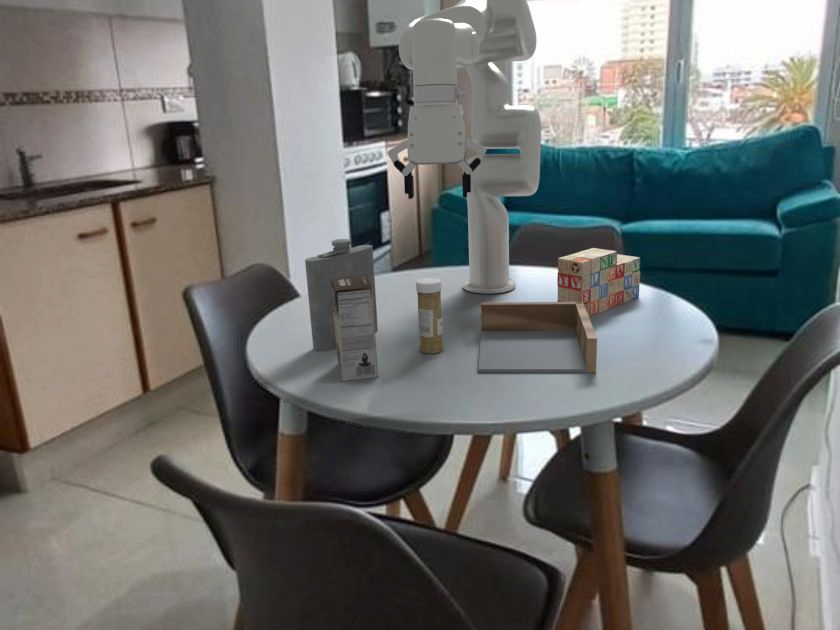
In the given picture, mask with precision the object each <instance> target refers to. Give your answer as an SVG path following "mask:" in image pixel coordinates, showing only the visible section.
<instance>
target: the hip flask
mask: <svg viewBox="0 0 840 630" xmlns="http://www.w3.org/2000/svg"><path fill="white" fill-rule="evenodd" d="M351 245H352V240H351V239H350V238H339V239H338V238H337V239H332V240H331V246H333V250H331V251H328V252H324V253H321V254H318V255H316V256H312V257H307V258H305V259H304V262H305V273H306V274H305V275H306V284H307V285H306V286H307V295H308V304H309V317H310V318H309V319H310V326H311V327H310V328H311V339H312V348H313V349H312V350H313V351H314V352H326V351H331V350H333V349H337V348H336V336H335V325H334V313H333V301H332V289H331V278H332V277H342V276H352V275H361V274H366V275H367V277H368V279H369V281H370V283H371V285H372V287H373V304H374V322H375V334H376V333H377V332H378V331H379V328H378V327H379V325H378V310H377V296H376V281H375V266H374V264H375V263H374V262H375V261H374V249H373V245H371V244H361V245H360V244H359V245H358V246H357V245H356V246H354V247H351Z"/></svg>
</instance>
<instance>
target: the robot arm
mask: <svg viewBox="0 0 840 630" xmlns="http://www.w3.org/2000/svg"><path fill="white" fill-rule="evenodd" d="M537 42H538V41H537V31H536V28H535V24H534V20H533V17H532V13H531V10H530V6H529V4H528V1H527V0H459V1H458V3H456V4H455V5H454V6H450V7H447V8H444V9H442V10H440V11H439V10H438V11H436V12H432V13H431V14H427V15H424V16H421V17H419V18H416V19H414V20H413V21H411V22H410V23H408V25H407V26H406V27H405V28H404V29H403V30H402V33H401V34H400V36H399V40H398V54H399V58H400V61H401V63H402V64H403V65H404V67H406V69H408V70H411V71H412V85H413V106H412V105H411V106H410V107H409V111H408V112H409V113H408V122H407V123H408V124H407V139H406V140H405V141H403V142H401V143H399V144H398V145H396V146H393V147H392V148H391V149H389V150H388V151H387V155H388V157H389V159H390V161H391V163H392V164H393V166H394V167H395V169H396V170H398V171H399V173H401V174H402V176H403V179H404V181H403V183H404V184H403V185H404V194H405V195H407V198H408V200H411V199H414V197H415V186H414V185H415V183H414V180H415V179H414V175H413V170H414V169H415V167H417V165H419V166H420V165H421V166H423V165H424V166H425V165H427V166H428V165H454V164H457V165H458V166H459V167H460V168H461V169H462V175H461V177H462V181H461V182H462V186H461V187H462V198H465V199H466V203H467V219H468V220H467V223H468V224H467V225H468V226H467V227H468V228H467V229H468V261H469V262H468V264H469V266H468V268H469V270H468V271H469V273H468V274H469V279H467V280H465V281H464V282H463V286H462V288H463V289H464V290H466V291H467V292H470V293H473V294H474V293H475V294H487V295H488V294H490V295H491V294H501V293H507V292H511V291H512V290H514V289H515V288H516V281H515V280H514V279H512V278H510V255H509V254H510V253H509V252H510V248H509V247H510V245H509V243H510V241H509V240H510V229H509V227H510V226H509V225H510V223H509V222H510V221H509V220H510V219H509V213H508V211H507V208H506V207H505V205H504V204H503V202H501V200H500V199H499V197H501V198H502V197H530V196H533V195H534V194H536V192H537V190H538V188H539V184H540V173H541V172H540V171H541V153H542V152H541V149H542V148H541V147H542V123H541V122H542V121H541V120H542V119H541V117H540V113H539V110H538V109H537V108H535V106H532V105H529V104H524V105H523V104H519V105H515V104H514V105H510V90H511V88H510V87H511V86H510V82H509V81H508V79H507V77H506V76H505V74H504V73H503V72H502V71H501V70H500V69H499V67H497V66H496V64H495V63H511V62H523V61H527V60H530V59H532V57H534V54H535V51H536V49H537ZM462 68H465V69H466V72H467V74H468V77H469V79H470V83H471V87H472V88H471V89H472V95H471V96H472V98H471V100H472V101H471V102H472V103H471V125H470V126H471V127H470V128H471V129H470V131H471V133H470V134H471V139H469V138H467V136H466V134H467V133H466V122H465V114H464V109H463V105H462V104H458V100H460V99H462V98H466V97H467V96H466V95H467V94H466V92H467V91H466V90H467V89H466V88H461V87H460V88H459V87H458V69H462ZM467 148H469V149H471V150H472V151H475V152H476V155H474V156H471V157H470V158H468V159H467V160H466V157H467ZM489 149H490V150H493V149H494V150H497V149H500V150H501V149H504V150H505V149H515V150H516V149H517V150H519V152H520V153H504V154H503V153H498V154H497V153H491V154H489V153H487V150H489ZM405 150H407V160H408V163H407V164H406V165H405V164H404V163H403V162H402V161H401V160H400V158H399V154H400V153H401V152H404V151H405Z"/></svg>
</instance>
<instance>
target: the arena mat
mask: <svg viewBox="0 0 840 630" xmlns="http://www.w3.org/2000/svg"><path fill="white" fill-rule="evenodd" d="M478 355H479V356H478V368H477V372H478V373H543V374H544V373H545V374H547V373H551V374H553V373H558V374H559V373H561V374H562V373H581V374H582V373H587V368H586V365H585V361H584V358H583V355H582V352H581V349H580V345H579V342H578V339H577V336H576V332H575V331H481V330H480V343H479V353H478Z"/></svg>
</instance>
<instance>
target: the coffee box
mask: <svg viewBox="0 0 840 630" xmlns="http://www.w3.org/2000/svg"><path fill="white" fill-rule="evenodd" d="M331 289H332V301H333V313H334V325H335V336H336V348H335V349H336V356H337V357H336V358H337V364H338V369H339V372H340V377H341V381H342V382H350V381H356V380H357V381H358V380H364V379H373V378H378V377H379V374H378V358H377V342H376V333H375V322H374V304H373V287H372V285H371V283H370V281H369V279H368V277H367V275H366V274H361V275H352V276H342V277H332V278H331Z"/></svg>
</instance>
